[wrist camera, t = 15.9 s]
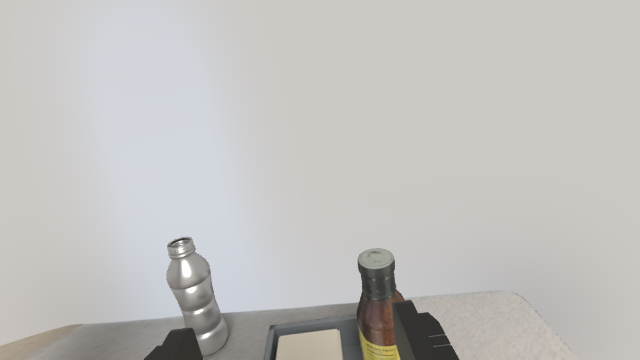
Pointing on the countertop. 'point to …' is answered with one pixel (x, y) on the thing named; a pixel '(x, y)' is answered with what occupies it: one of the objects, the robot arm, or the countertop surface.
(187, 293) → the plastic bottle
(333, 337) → the cream rectangular box
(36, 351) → the countertop surface
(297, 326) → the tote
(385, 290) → the sauce bottle
